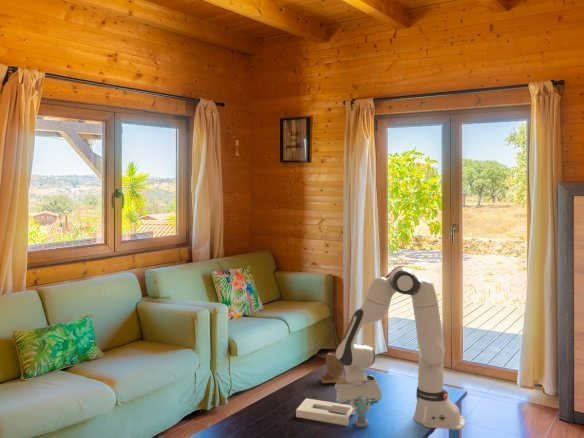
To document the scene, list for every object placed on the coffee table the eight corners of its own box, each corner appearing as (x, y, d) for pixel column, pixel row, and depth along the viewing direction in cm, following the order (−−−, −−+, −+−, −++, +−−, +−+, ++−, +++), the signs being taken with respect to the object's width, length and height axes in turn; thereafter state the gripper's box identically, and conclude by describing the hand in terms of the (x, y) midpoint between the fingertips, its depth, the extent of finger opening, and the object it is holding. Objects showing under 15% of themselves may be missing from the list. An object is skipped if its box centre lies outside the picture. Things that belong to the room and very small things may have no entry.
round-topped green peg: (369, 422, 247) (370, 396, 246) (366, 428, 242) (367, 401, 241) (356, 420, 249) (356, 394, 248) (353, 426, 244) (353, 399, 243)
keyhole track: (355, 413, 257) (355, 406, 257) (347, 425, 244) (347, 418, 244) (306, 405, 266) (306, 398, 265) (296, 416, 252) (296, 409, 252)
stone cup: (342, 376, 305) (343, 349, 304) (350, 384, 294) (350, 356, 293) (316, 378, 302) (316, 351, 301) (322, 386, 290) (323, 358, 289)
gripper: (335, 379, 249) (340, 409, 240) (379, 376, 253) (385, 406, 244) (332, 385, 254) (337, 414, 245) (375, 382, 257) (382, 411, 248)
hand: (362, 410), depth 244 cm, fingers open, 4 cm apart
